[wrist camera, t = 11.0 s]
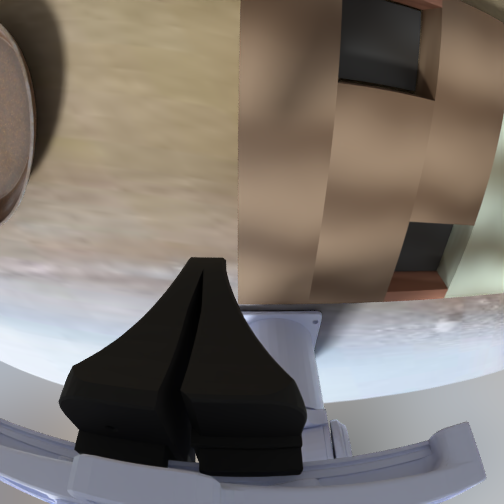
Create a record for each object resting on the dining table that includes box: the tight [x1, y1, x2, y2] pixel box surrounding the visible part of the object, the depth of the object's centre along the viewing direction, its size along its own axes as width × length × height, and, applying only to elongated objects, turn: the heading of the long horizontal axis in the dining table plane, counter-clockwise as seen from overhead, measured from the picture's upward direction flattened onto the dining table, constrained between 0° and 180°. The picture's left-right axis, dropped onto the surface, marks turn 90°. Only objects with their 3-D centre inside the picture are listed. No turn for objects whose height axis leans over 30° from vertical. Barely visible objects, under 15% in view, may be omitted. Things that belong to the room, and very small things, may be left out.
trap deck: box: [238, 0, 504, 304], centre depth 18 cm, size 22×28×2 cm
